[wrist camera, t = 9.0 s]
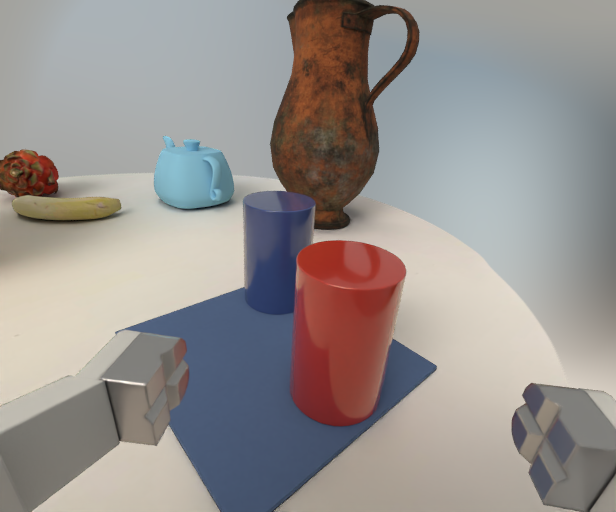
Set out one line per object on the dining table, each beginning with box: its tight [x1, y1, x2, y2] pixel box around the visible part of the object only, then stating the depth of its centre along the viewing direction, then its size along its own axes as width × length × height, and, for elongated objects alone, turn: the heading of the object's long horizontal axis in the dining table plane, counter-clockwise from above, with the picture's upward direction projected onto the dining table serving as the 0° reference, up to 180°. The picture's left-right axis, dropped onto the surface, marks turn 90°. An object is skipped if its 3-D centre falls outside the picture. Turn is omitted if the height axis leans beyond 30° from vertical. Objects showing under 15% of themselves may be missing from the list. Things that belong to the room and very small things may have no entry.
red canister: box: [289, 240, 406, 426], centre depth 22 cm, size 6×6×10 cm
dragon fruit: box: [0, 150, 59, 197], centre depth 59 cm, size 8×8×12 cm
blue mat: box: [115, 287, 437, 512], centre depth 28 cm, size 19×18×1 cm
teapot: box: [154, 136, 234, 209], centre depth 61 cm, size 13×11×18 cm
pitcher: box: [270, 0, 419, 230], centre depth 51 cm, size 17×21×30 cm
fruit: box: [12, 195, 121, 220], centre depth 52 cm, size 7×15×3 cm, turn 85°
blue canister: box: [243, 191, 316, 315], centre depth 33 cm, size 6×6×10 cm
